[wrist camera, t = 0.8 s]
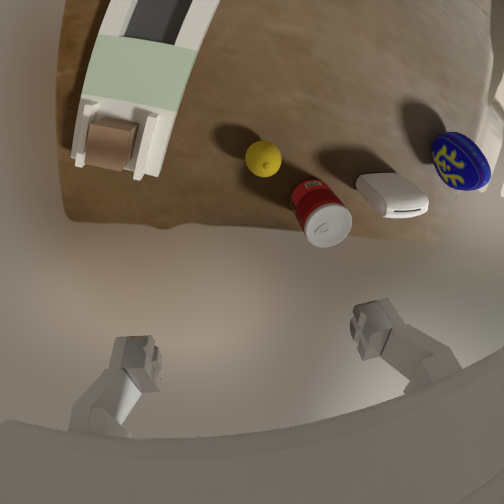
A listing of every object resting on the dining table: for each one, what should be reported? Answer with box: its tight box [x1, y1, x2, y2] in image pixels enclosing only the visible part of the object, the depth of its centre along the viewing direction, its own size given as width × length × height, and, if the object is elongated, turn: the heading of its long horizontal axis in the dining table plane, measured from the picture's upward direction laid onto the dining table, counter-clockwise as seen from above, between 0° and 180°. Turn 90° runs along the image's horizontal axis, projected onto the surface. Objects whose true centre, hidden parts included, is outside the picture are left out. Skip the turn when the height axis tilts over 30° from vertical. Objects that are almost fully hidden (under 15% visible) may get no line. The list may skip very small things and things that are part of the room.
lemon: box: [245, 141, 281, 177], centre depth 44 cm, size 6×6×8 cm
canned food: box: [290, 179, 352, 247], centre depth 49 cm, size 8×8×11 cm
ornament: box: [432, 132, 491, 191], centre depth 43 cm, size 11×9×15 cm
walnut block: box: [84, 117, 140, 172], centre depth 37 cm, size 6×6×6 cm
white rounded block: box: [356, 173, 429, 218], centre depth 48 cm, size 10×4×12 cm, turn 95°
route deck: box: [71, 0, 220, 180], centre depth 34 cm, size 32×16×6 cm, turn 159°
